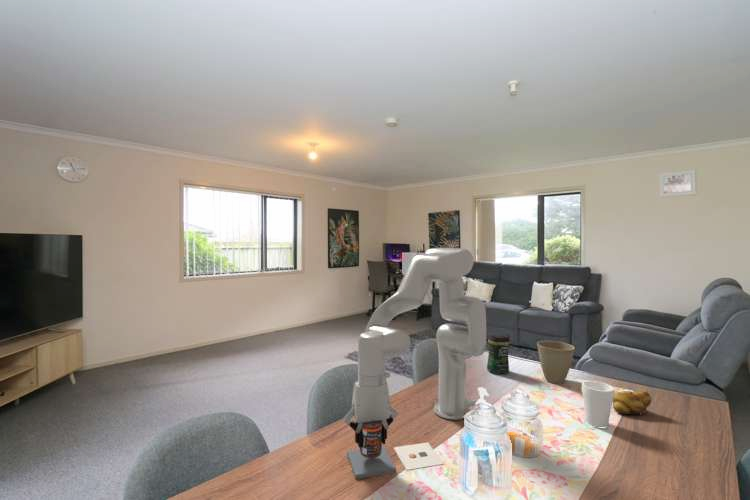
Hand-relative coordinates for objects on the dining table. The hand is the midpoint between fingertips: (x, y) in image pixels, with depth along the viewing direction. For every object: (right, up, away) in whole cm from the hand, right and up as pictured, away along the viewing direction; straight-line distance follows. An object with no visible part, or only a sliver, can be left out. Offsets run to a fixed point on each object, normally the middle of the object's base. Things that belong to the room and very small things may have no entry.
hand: (371, 442), depth 100 cm
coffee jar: (+60, -5, +73) cm, 94 cm away
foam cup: (+76, -6, +23) cm, 80 cm away
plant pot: (+81, -5, +62) cm, 102 cm away
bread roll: (+94, -6, +33) cm, 100 cm away
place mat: (0, -6, 0) cm, 6 cm away
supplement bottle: (0, -3, 0) cm, 3 cm away
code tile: (+13, -6, +4) cm, 15 cm away
